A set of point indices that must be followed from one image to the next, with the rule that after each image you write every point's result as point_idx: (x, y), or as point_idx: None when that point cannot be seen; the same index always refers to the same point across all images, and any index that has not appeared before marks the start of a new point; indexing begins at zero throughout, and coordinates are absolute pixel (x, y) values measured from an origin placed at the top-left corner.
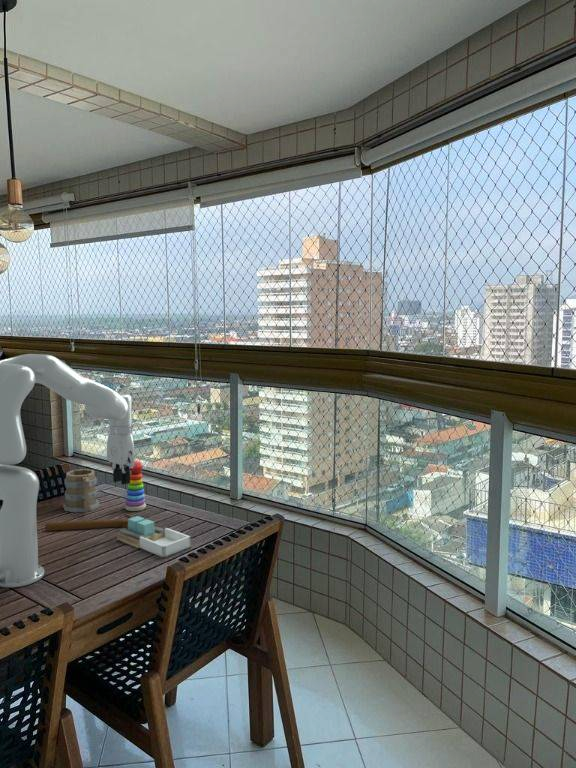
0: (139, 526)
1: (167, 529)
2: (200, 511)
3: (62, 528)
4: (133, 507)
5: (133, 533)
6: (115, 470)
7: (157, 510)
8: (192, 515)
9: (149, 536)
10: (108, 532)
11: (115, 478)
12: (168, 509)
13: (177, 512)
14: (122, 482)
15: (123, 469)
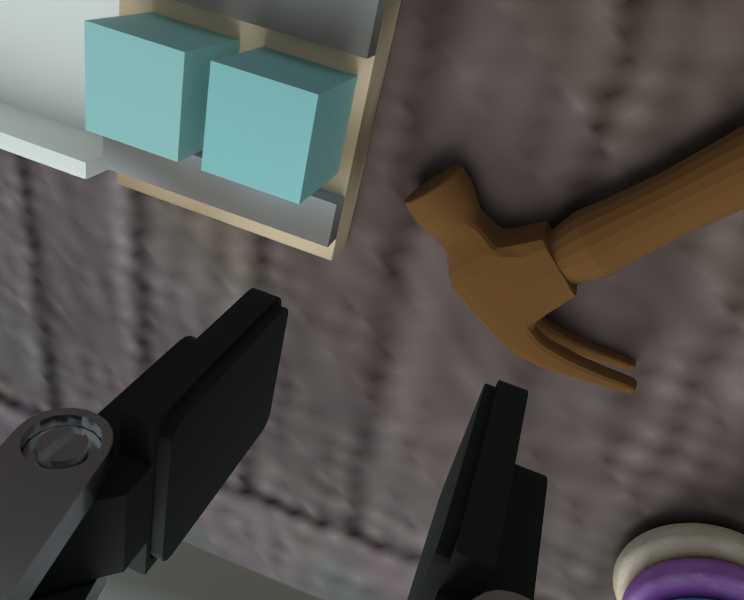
0: (168, 38)
1: (60, 153)
2: (271, 571)
3: None
4: (674, 544)
5: None
6: (457, 597)
7: None
8: (266, 515)
9: None
10: (591, 70)
11: (469, 431)
12: None
13: (372, 544)
14: (235, 305)
15: (2, 476)
